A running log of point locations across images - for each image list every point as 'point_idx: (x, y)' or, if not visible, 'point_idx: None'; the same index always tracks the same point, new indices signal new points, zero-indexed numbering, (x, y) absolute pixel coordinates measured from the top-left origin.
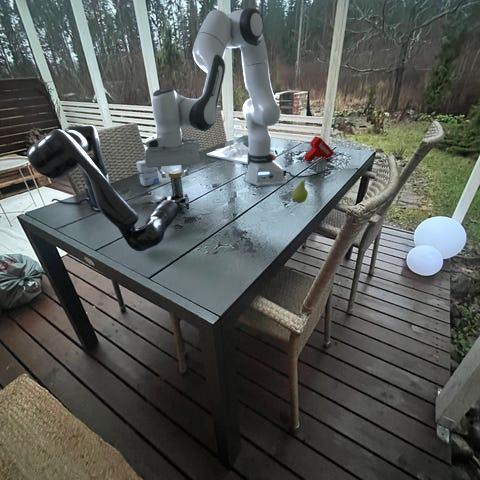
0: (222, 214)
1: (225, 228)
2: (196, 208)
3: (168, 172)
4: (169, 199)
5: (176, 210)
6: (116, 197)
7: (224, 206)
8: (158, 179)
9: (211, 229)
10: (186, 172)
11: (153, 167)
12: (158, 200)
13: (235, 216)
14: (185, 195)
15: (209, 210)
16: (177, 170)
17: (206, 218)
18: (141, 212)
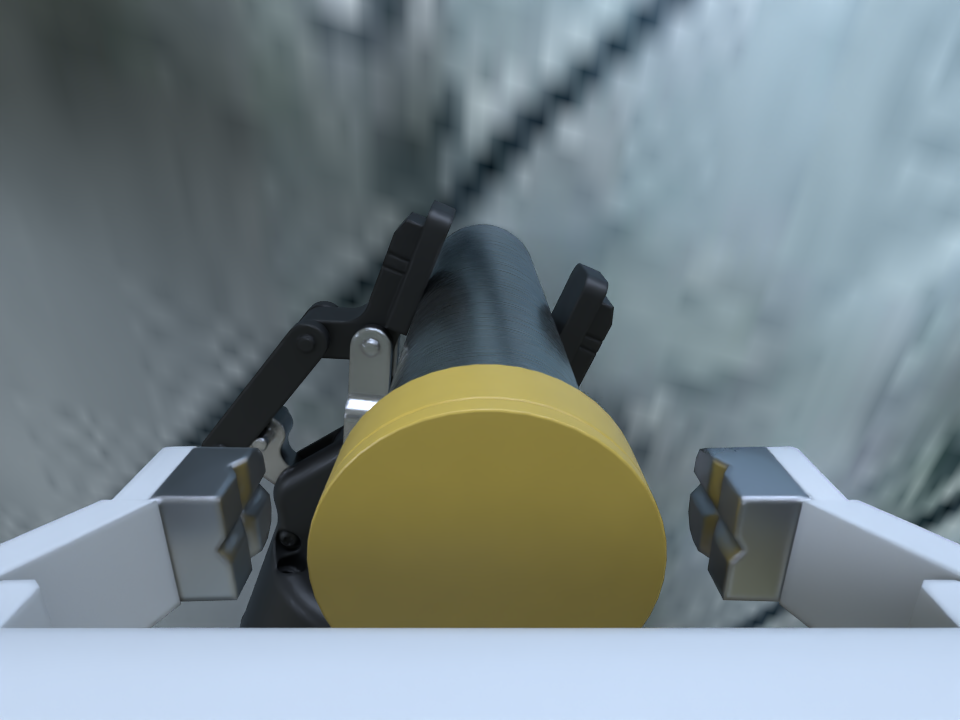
0: (854, 428)
1: (781, 627)
2: (656, 239)
3: (316, 588)
4: None
5: None
6: None
7: (952, 270)
8: None
9: (681, 617)
10: (772, 581)
11: None
12: (230, 426)
13: (941, 488)
14: (580, 339)
15: (771, 320)
16: (567, 495)
17: (694, 462)
18: (65, 180)
